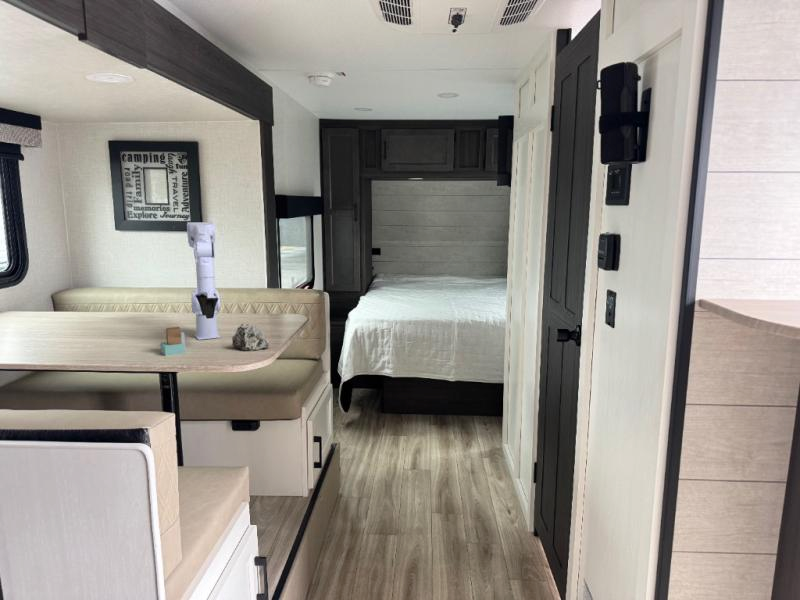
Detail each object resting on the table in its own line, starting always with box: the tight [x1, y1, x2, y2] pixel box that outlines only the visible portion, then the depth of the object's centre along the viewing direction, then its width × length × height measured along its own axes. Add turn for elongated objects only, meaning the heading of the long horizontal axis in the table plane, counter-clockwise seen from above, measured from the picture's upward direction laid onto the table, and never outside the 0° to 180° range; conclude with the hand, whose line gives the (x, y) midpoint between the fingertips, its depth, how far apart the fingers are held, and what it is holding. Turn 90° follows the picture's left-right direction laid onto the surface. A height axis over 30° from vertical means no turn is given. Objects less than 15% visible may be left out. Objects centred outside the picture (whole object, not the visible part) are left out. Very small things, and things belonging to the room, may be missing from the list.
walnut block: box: [165, 326, 182, 345], centre depth 174 cm, size 4×4×5 cm
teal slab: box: [160, 341, 186, 357], centre depth 174 cm, size 6×6×4 cm
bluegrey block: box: [181, 331, 186, 346], centre depth 182 cm, size 4×4×5 cm
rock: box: [231, 323, 270, 352], centre depth 181 cm, size 13×10×10 cm
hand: (207, 316), depth 182 cm, fingers open, 7 cm apart
